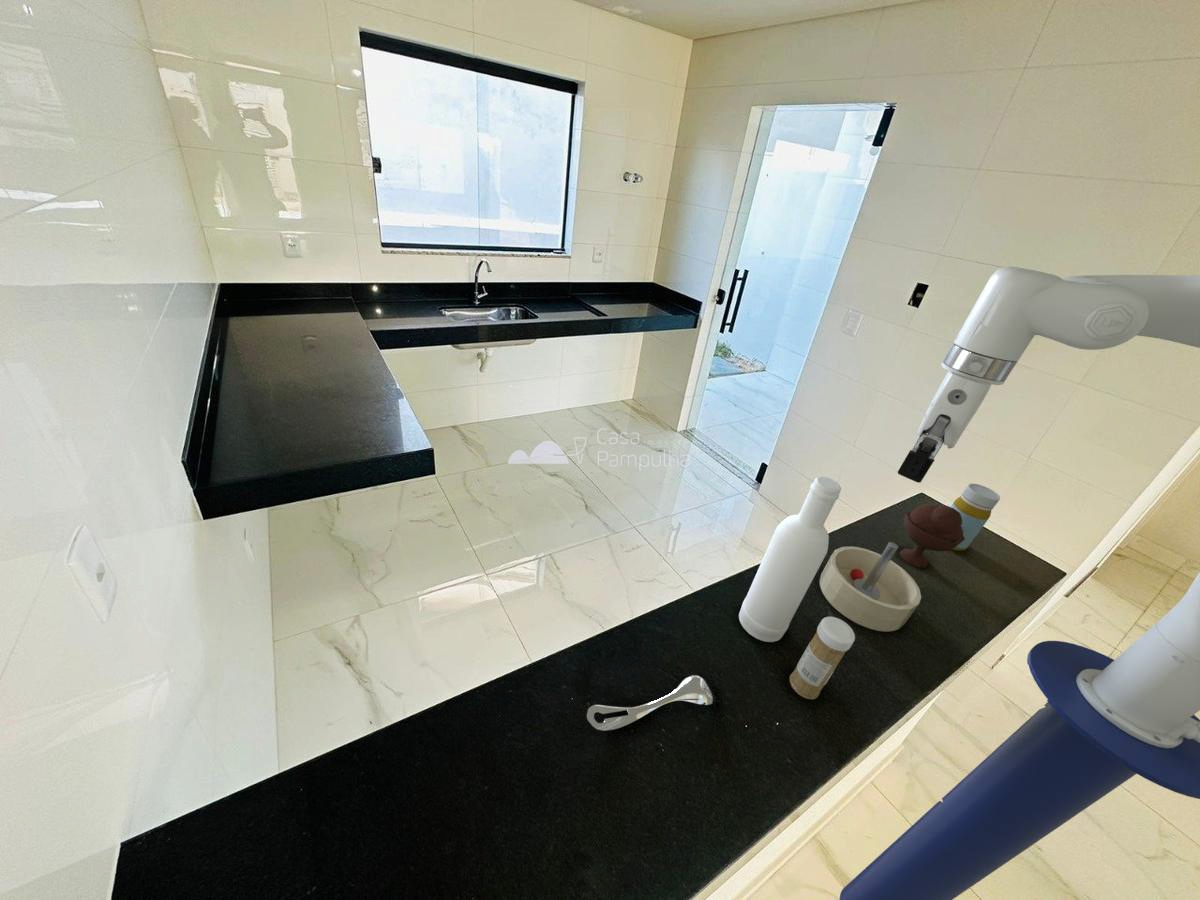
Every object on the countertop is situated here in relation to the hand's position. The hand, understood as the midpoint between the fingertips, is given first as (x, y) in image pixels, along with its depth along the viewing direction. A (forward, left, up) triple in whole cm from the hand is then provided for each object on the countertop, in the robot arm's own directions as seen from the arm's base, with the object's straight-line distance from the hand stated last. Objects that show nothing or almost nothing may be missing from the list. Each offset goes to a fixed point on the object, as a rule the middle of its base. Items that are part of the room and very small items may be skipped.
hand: (914, 467), depth 72 cm
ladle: (-3, -6, -30) cm, 31 cm away
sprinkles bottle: (-2, +22, -31) cm, 38 cm away
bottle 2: (-13, -44, -31) cm, 55 cm away
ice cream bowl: (-8, -29, -31) cm, 43 cm away
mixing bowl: (-3, -6, -31) cm, 31 cm away
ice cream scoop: (+12, +43, -31) cm, 54 cm away
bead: (-1, -9, -29) cm, 30 cm away
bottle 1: (+8, +16, -31) cm, 36 cm away
